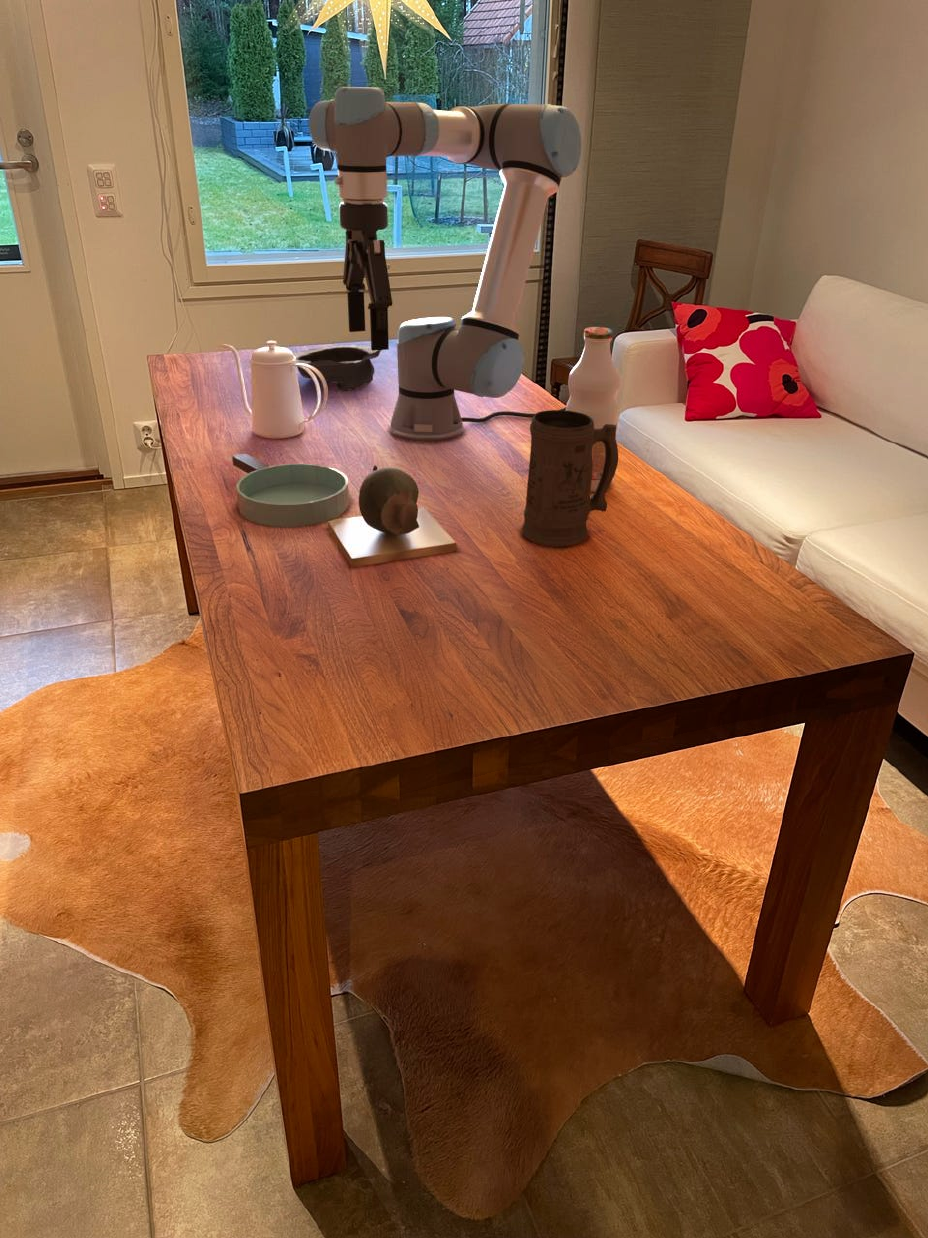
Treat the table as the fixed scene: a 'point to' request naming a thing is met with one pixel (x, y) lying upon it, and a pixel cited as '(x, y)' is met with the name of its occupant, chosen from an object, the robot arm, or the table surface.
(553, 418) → the beer stein
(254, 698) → the table surface
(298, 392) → the coffeepot
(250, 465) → the pan handle
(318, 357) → the stone bowl
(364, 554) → the cutting board
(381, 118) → the robot arm
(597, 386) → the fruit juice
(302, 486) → the pan
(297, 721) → the table surface
